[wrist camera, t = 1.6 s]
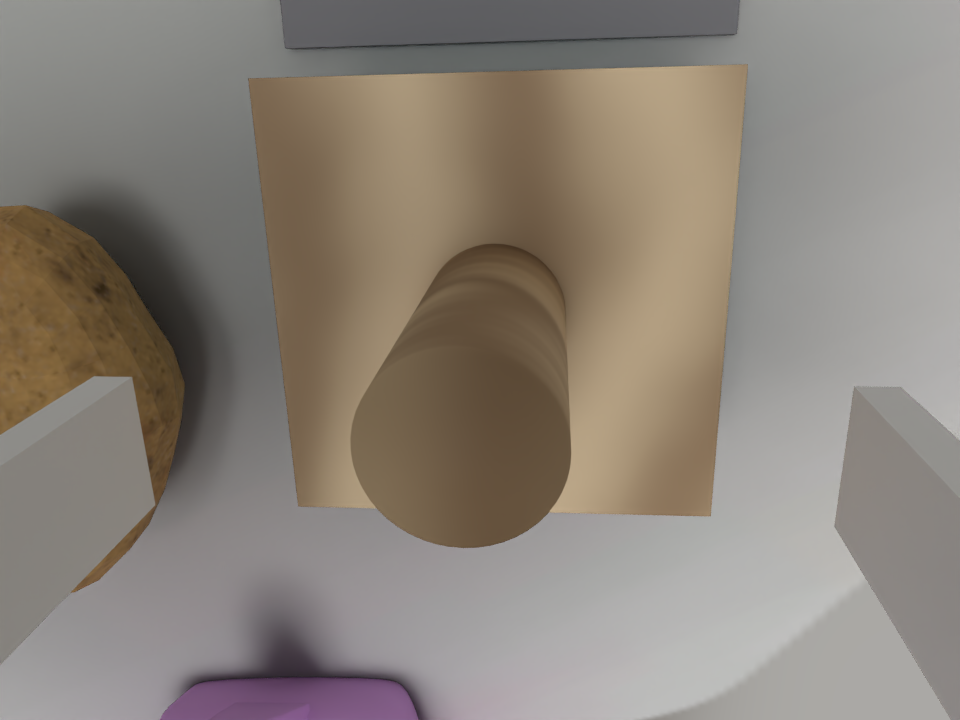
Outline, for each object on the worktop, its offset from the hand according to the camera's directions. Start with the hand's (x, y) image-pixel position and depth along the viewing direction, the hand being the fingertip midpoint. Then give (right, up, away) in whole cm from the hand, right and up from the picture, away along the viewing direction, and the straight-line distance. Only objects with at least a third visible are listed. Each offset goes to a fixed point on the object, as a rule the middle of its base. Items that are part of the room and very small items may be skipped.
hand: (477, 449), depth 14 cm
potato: (-15, +2, +18) cm, 23 cm away
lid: (+1, +3, +9) cm, 10 cm away
